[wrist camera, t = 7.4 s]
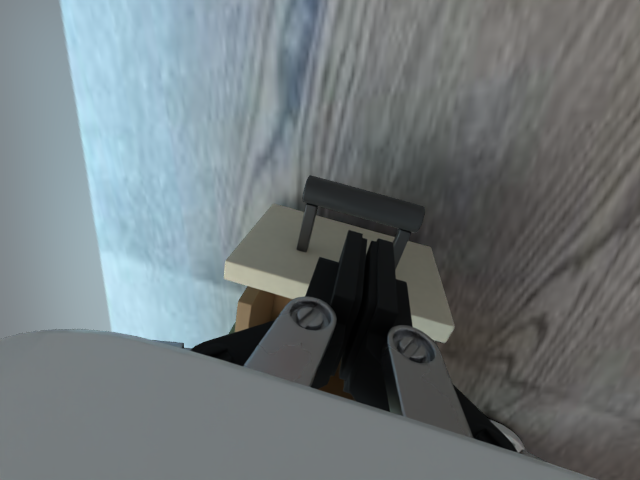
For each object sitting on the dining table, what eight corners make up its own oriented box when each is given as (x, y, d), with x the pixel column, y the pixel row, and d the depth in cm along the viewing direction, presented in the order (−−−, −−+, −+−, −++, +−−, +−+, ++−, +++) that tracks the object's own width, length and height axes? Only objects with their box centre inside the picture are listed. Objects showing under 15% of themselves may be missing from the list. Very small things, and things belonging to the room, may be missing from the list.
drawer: (282, 142, 20) (230, 177, 13) (458, 190, 19) (502, 253, 12) (251, 341, 29) (212, 423, 22) (369, 376, 29) (366, 471, 22)
